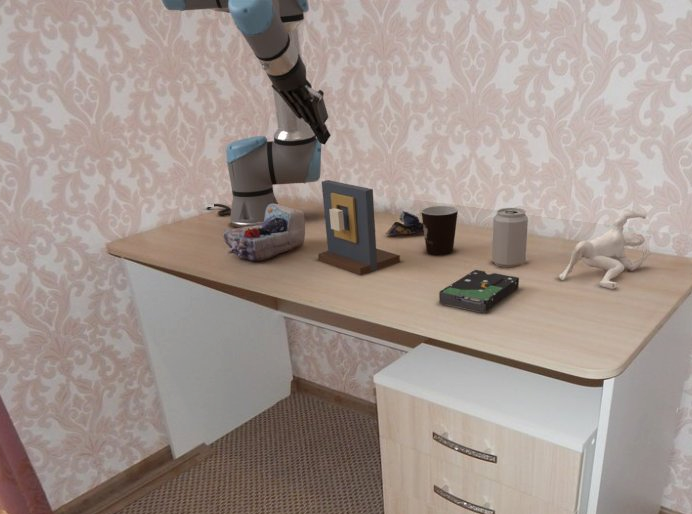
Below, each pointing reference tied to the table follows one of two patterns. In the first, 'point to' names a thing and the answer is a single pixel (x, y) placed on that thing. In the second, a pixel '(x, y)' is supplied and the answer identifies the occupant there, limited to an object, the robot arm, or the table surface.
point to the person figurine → (609, 251)
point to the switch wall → (353, 230)
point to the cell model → (268, 234)
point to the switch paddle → (336, 219)
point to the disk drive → (479, 291)
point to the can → (509, 237)
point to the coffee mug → (439, 229)
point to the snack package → (406, 225)
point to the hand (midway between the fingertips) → (325, 139)
